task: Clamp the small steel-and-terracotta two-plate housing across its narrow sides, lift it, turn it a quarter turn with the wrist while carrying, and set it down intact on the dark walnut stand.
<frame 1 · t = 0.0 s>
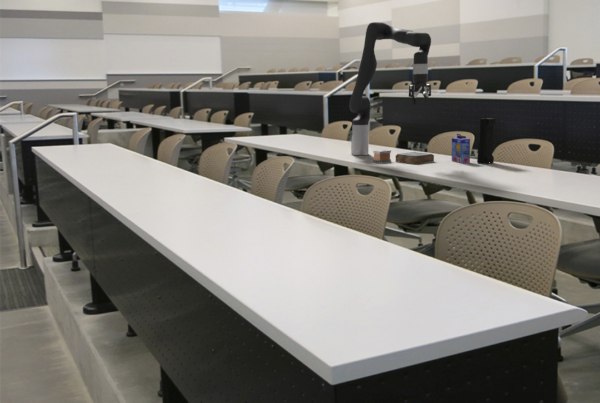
hand: (419, 105, 330), 29 cm above the table, tool pointing down, fingers open, 8 cm apart
walnut stand: (414, 161, 336), on the table
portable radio: (485, 163, 326), on the table
ink cartridge box: (460, 162, 333), on the table
housing: (382, 161, 339), on the table
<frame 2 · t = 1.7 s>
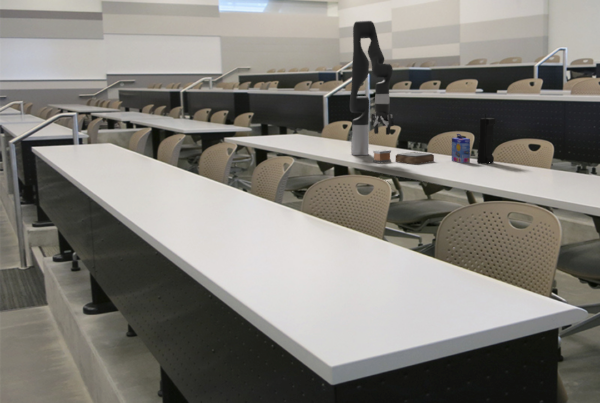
hand: (382, 134, 336), 15 cm above the table, tool pointing down, fingers open, 8 cm apart
nothing on the table moved.
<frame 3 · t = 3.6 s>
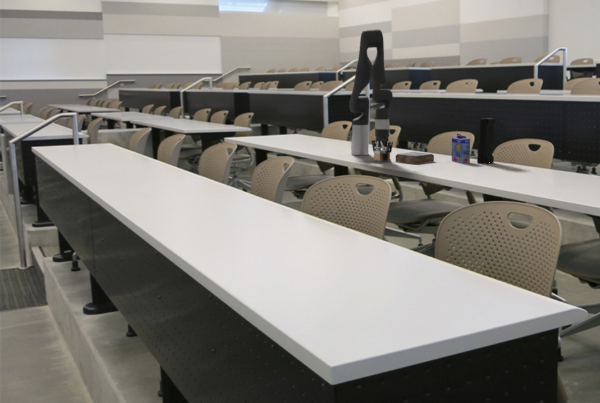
hand: (382, 160, 339), 1 cm above the table, tool pointing down, fingers closed on housing, 5 cm apart
housing: (382, 161, 339), on the table, touching gripper
everything else where it was.
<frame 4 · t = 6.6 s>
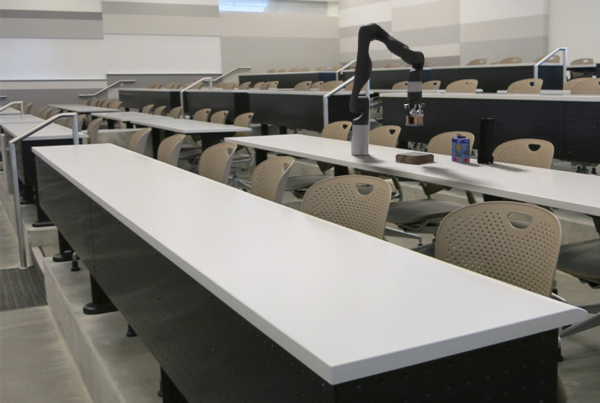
hand: (414, 123, 332), 20 cm above the table, tool pointing down, fingers closed on housing, 5 cm apart
housing: (414, 125, 333), point 19 cm above the table, touching gripper
everything else where it was.
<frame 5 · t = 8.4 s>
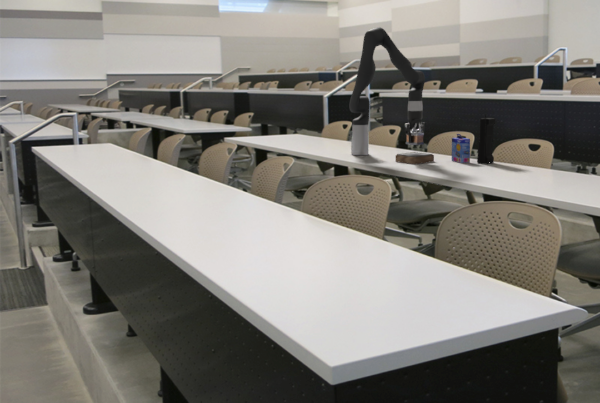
hand: (414, 142, 334), 10 cm above the table, tool pointing down, fingers closed on housing, 5 cm apart
housing: (414, 144, 334), point 9 cm above the table, touching gripper
everything else where it was.
when the fingers open (6 cm above the table, at t = 9.7 s): housing drops 1 cm, resting on walnut stand.
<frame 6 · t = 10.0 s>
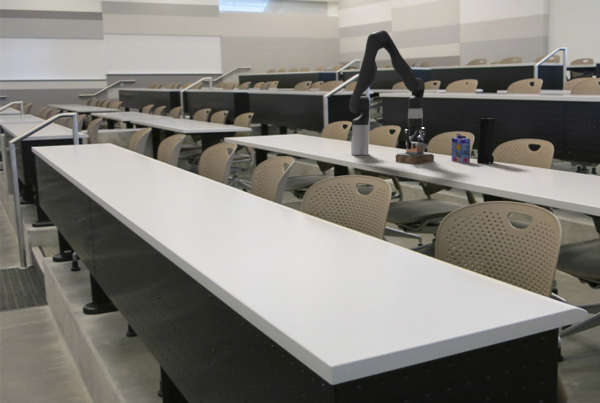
hand: (414, 148, 335), 7 cm above the table, tool pointing down, fingers open, 8 cm apart
housing: (414, 154, 336), point 4 cm above the table, touching walnut stand
everything else where it was.
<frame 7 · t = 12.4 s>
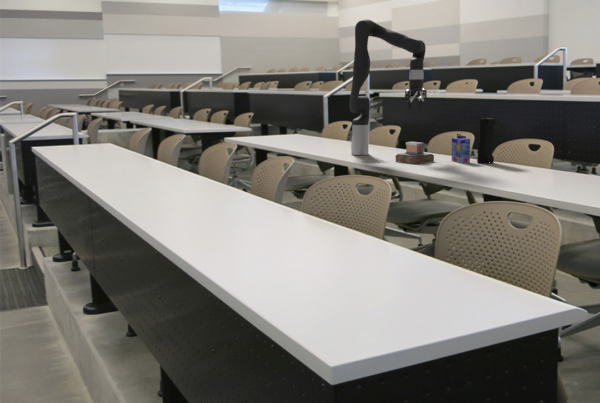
hand: (415, 109, 345), 27 cm above the table, tool pointing down, fingers open, 8 cm apart
nothing on the table moved.
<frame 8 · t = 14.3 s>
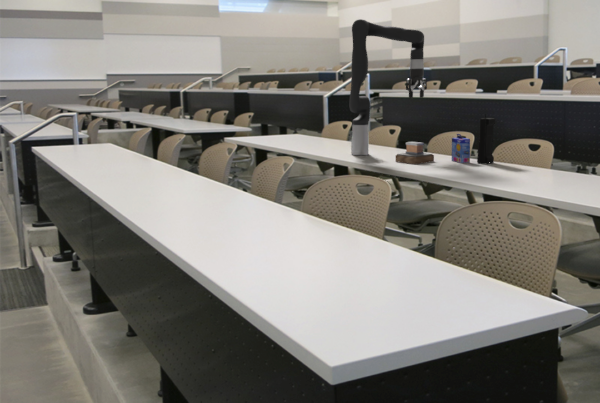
hand: (416, 97, 355), 32 cm above the table, tool pointing down, fingers open, 8 cm apart
nothing on the table moved.
at the end: housing inside the target area on the walnut stand (0.1 cm from its centre), point 4.0 cm above the walnut stand's base; housing tilted 0°; the gripper is holding nothing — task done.
